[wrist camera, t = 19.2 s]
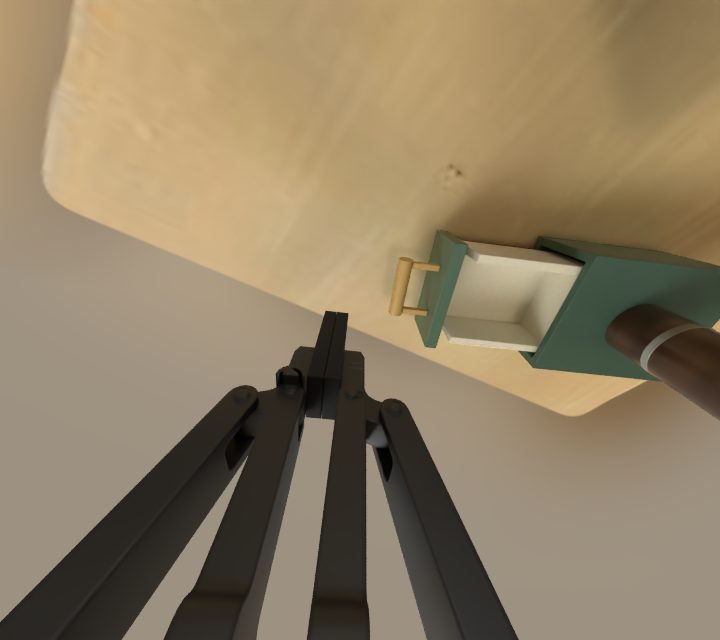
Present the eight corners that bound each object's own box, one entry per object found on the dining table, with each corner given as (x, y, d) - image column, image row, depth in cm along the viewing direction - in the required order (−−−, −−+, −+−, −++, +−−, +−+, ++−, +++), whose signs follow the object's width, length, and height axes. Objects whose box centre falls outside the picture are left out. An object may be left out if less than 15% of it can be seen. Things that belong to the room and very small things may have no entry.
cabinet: (498, 328, 34) (533, 368, 27) (539, 236, 28) (597, 255, 21) (601, 340, 35) (662, 381, 28) (663, 251, 29) (759, 275, 22)
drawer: (382, 315, 32) (386, 343, 27) (399, 225, 27) (408, 237, 22) (516, 330, 33) (547, 360, 28) (557, 245, 28) (605, 262, 22)
